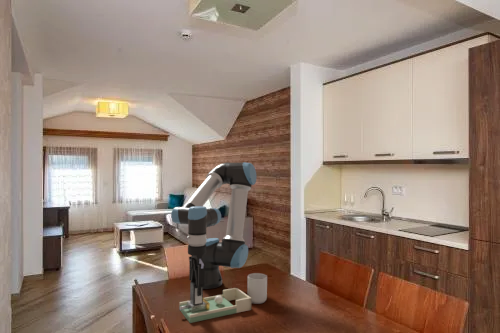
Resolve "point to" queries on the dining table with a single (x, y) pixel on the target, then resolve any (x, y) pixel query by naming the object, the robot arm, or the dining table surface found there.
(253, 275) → the mug
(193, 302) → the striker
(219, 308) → the pitch
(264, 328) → the dining table surface
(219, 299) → the ball
